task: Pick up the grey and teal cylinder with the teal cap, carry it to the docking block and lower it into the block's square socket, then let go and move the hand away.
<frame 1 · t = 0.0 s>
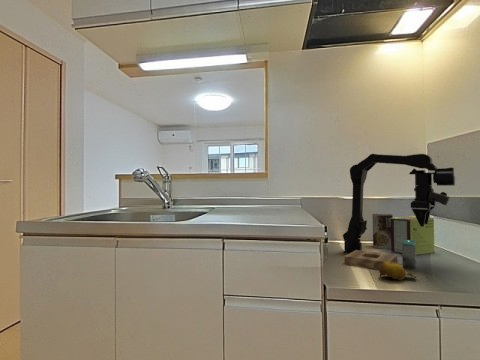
hand: (424, 225, 122), 15 cm above the counter, tool pointing down, fingers open, 9 cm apart
dock: (371, 263, 121), on the counter
grey and teal cylinder: (409, 267, 115), on the counter
fruit: (397, 280, 102), on the counter
protein box: (412, 252, 140), on the counter
coffee box: (383, 247, 150), on the counter
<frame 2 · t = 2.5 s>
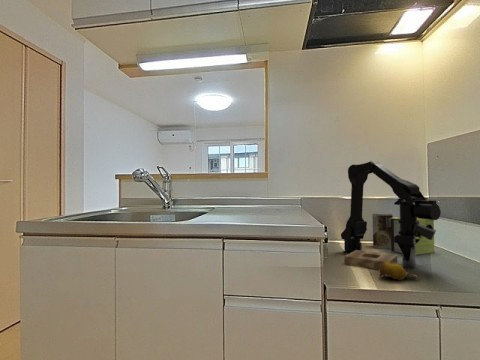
hand: (409, 259, 115), 3 cm above the counter, tool pointing down, fingers closed on grey and teal cylinder, 4 cm apart
grey and teal cylinder: (409, 267, 115), on the counter, touching gripper
everything else where it was.
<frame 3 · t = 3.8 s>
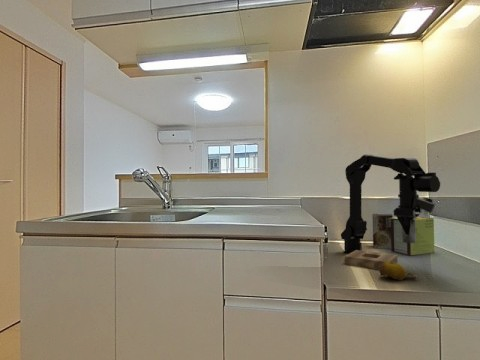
hand: (408, 233, 115), 13 cm above the counter, tool pointing down, fingers closed on grey and teal cylinder, 4 cm apart
grey and teal cylinder: (409, 241, 115), point 10 cm above the counter, touching gripper
everything else where it was.
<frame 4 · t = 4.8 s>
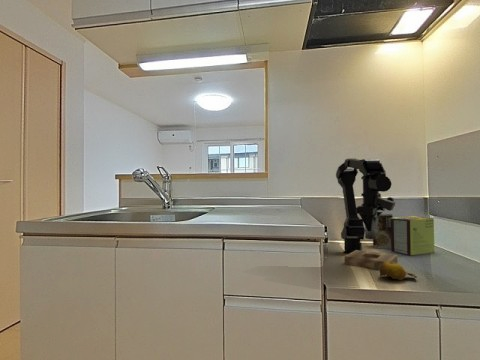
hand: (371, 230, 121), 13 cm above the counter, tool pointing down, fingers closed on grey and teal cylinder, 4 cm apart
grey and teal cylinder: (371, 238, 121), point 10 cm above the counter, touching gripper
everything else where it was.
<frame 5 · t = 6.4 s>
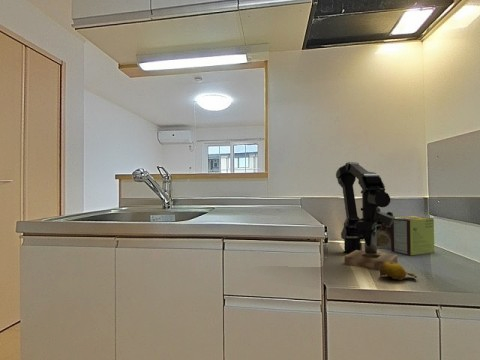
hand: (370, 244, 121), 7 cm above the counter, tool pointing down, fingers closed on grey and teal cylinder, 4 cm apart
grey and teal cylinder: (370, 252, 121), point 4 cm above the counter, touching gripper
everything else where it was.
when the fingers open (4 cm above the counter, at t = 7.4 s): grey and teal cylinder drops 1 cm, resting in dock.
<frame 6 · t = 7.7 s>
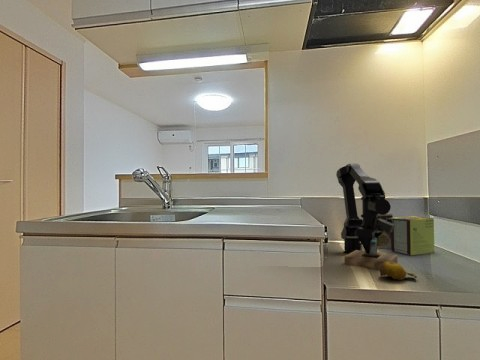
hand: (370, 251, 121), 4 cm above the counter, tool pointing down, fingers open, 7 cm apart
grey and teal cylinder: (371, 263, 121), resting in dock
everything else where it was.
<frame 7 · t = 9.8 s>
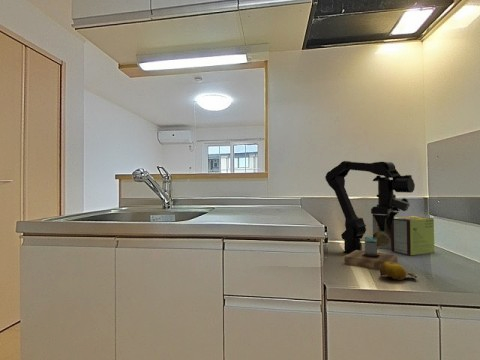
hand: (386, 230, 127), 12 cm above the counter, tool pointing down, fingers open, 9 cm apart
nothing on the counter moved.
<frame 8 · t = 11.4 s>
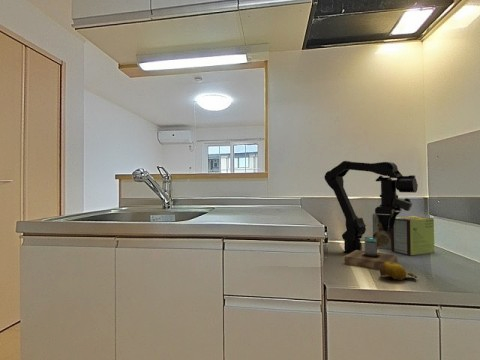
hand: (389, 229, 128), 12 cm above the counter, tool pointing down, fingers open, 9 cm apart
nothing on the counter moved.
at the end: grey and teal cylinder 0.0 cm off-centre on the dock, point 0.0 cm above the dock's base; grey and teal cylinder tilted 0°; the gripper is holding nothing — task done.
